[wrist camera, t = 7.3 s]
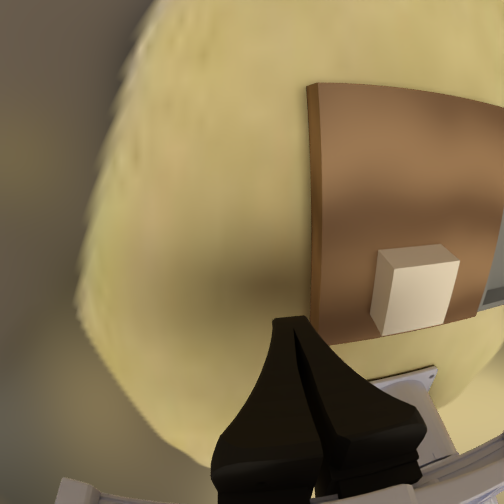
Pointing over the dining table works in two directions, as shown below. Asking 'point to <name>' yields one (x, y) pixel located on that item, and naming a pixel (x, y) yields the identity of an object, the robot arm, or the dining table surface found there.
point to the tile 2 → (412, 287)
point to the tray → (495, 276)
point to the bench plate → (398, 194)
